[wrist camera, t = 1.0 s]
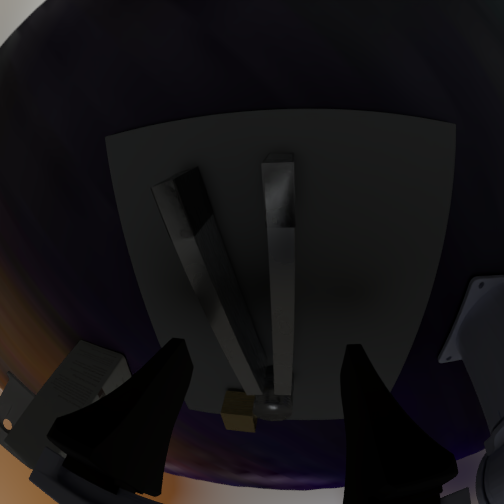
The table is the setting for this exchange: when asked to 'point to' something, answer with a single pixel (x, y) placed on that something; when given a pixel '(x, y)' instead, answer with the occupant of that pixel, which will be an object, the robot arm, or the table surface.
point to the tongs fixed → (279, 285)
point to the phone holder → (13, 406)
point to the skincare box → (66, 397)
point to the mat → (296, 236)
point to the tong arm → (211, 273)
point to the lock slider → (238, 411)
